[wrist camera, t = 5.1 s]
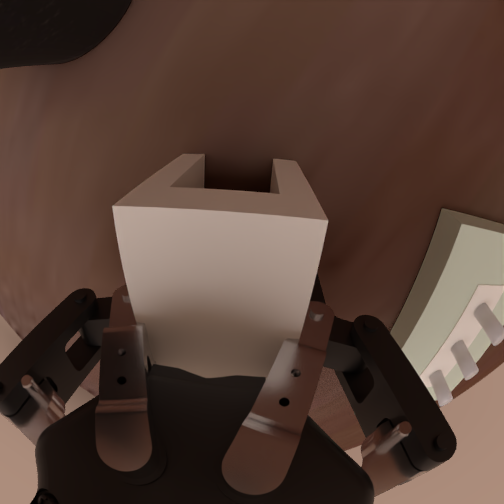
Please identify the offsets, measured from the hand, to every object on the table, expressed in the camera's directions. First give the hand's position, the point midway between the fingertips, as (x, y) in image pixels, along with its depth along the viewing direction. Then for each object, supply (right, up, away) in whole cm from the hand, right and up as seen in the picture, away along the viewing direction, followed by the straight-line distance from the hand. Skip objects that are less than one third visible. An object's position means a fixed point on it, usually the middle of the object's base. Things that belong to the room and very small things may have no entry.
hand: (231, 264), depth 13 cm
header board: (+16, -5, +3) cm, 17 cm away
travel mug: (-8, +13, -6) cm, 17 cm away
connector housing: (0, 0, +1) cm, 1 cm away
